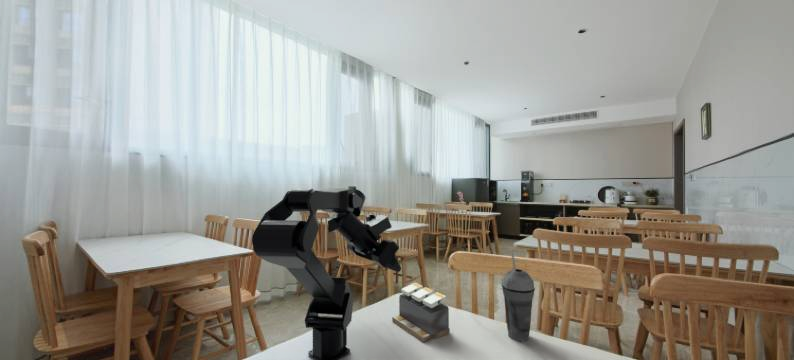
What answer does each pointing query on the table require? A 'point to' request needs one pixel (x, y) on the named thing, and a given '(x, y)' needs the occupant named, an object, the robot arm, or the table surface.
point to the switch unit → (422, 318)
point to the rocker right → (434, 300)
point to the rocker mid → (422, 294)
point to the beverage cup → (518, 302)
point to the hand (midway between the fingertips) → (390, 266)
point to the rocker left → (411, 289)
